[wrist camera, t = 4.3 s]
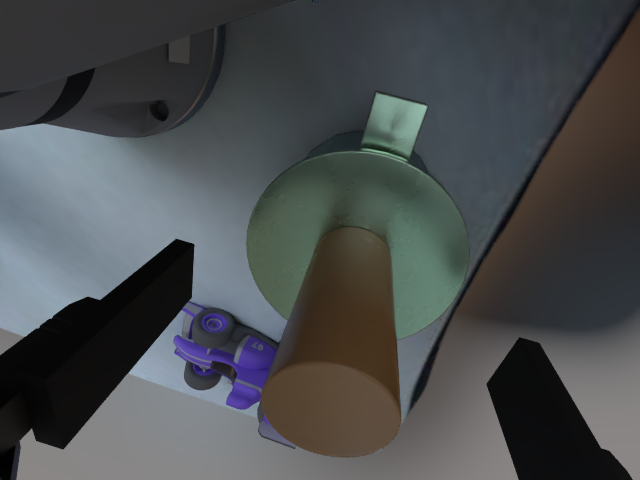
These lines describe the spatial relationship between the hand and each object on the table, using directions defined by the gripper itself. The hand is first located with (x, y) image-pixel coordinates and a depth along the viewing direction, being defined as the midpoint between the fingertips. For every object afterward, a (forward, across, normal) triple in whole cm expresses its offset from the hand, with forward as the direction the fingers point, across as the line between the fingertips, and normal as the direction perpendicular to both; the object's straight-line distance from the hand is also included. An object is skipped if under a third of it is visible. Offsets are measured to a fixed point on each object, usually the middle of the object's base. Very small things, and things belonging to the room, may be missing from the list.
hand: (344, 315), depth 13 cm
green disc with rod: (+5, 0, 0) cm, 5 cm away
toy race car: (+13, -6, -18) cm, 24 cm away
